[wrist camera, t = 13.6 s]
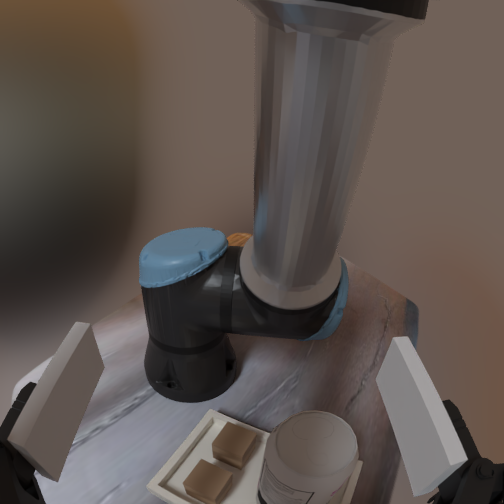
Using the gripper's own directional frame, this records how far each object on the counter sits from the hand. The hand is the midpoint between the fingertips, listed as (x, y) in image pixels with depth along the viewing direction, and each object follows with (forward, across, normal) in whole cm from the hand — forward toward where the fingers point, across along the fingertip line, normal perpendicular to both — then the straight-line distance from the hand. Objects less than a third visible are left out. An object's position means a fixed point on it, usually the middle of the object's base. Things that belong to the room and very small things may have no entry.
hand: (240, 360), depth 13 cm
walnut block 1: (+4, -3, -28) cm, 29 cm away
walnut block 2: (+10, 0, -29) cm, 30 cm away
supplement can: (+3, +6, -29) cm, 30 cm away
